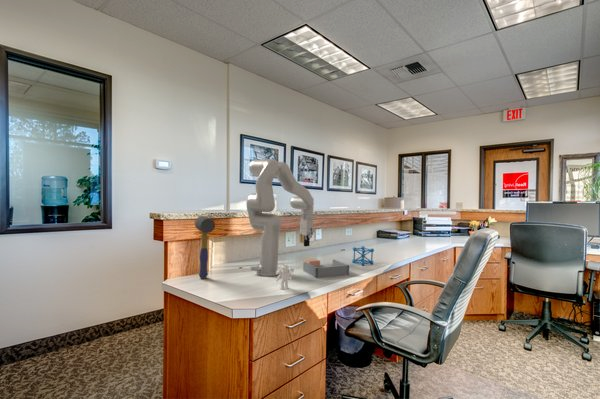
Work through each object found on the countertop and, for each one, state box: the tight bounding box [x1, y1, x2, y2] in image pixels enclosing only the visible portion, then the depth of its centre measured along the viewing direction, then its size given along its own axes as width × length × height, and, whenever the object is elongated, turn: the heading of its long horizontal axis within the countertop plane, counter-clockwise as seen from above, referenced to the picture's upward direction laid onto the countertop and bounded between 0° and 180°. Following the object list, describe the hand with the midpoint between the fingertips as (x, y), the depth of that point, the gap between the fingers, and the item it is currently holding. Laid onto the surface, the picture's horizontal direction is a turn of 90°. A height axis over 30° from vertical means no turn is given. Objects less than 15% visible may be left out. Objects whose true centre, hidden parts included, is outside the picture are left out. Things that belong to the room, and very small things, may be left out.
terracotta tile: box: [304, 257, 321, 268], centre depth 181 cm, size 7×7×4 cm
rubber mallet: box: [194, 216, 216, 279], centre depth 149 cm, size 12×8×30 cm, turn 33°
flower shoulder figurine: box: [275, 262, 295, 291], centre depth 138 cm, size 9×4×12 cm, turn 128°
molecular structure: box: [351, 246, 375, 267], centre depth 193 cm, size 10×10×10 cm
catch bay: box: [302, 258, 350, 279], centre depth 167 cm, size 20×15×5 cm
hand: (306, 246), depth 190 cm, fingers closed
